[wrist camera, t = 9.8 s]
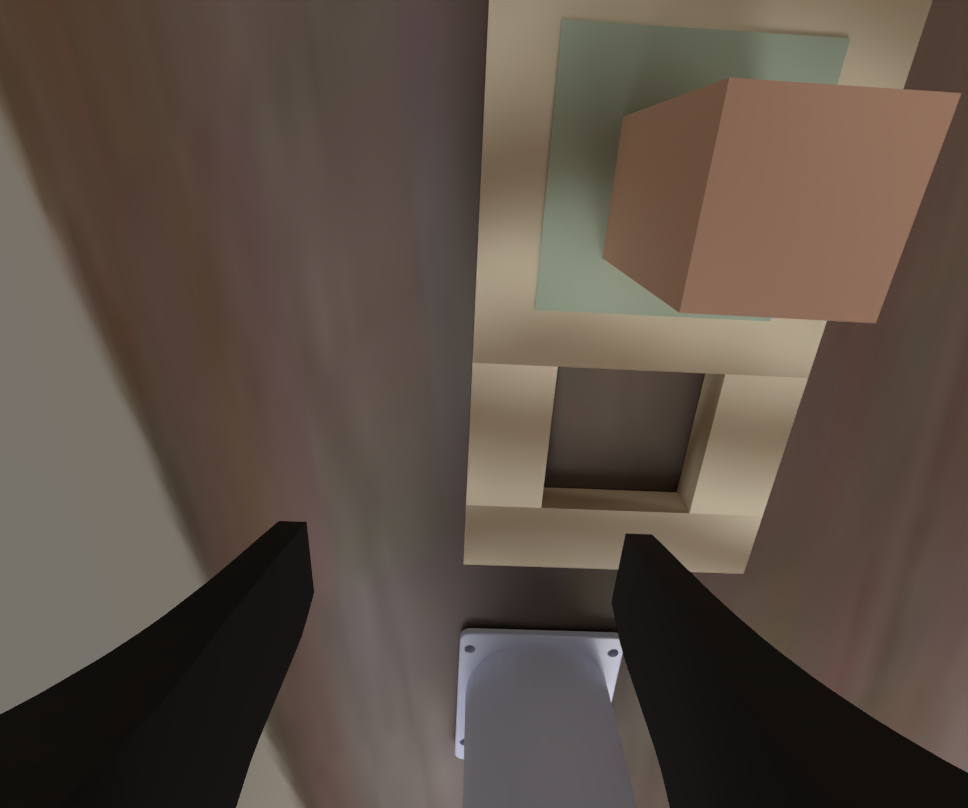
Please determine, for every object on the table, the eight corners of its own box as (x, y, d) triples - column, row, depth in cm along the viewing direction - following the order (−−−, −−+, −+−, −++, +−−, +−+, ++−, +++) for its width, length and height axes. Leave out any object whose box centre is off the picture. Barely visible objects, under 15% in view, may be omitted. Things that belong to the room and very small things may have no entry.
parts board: (728, 550, 24) (744, 575, 22) (464, 541, 23) (463, 565, 22) (892, 14, 15) (935, -2, 14) (489, -13, 15) (490, -33, 14)
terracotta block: (725, 264, 17) (875, 322, 10) (602, 258, 17) (679, 312, 10) (758, 125, 15) (961, 92, 9) (623, 116, 15) (729, 77, 9)
